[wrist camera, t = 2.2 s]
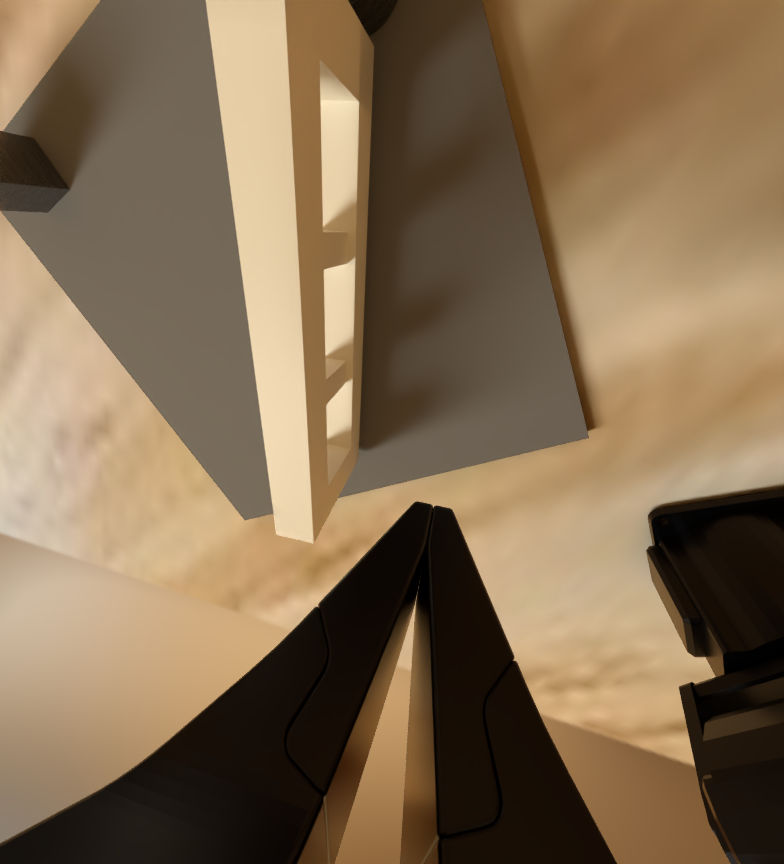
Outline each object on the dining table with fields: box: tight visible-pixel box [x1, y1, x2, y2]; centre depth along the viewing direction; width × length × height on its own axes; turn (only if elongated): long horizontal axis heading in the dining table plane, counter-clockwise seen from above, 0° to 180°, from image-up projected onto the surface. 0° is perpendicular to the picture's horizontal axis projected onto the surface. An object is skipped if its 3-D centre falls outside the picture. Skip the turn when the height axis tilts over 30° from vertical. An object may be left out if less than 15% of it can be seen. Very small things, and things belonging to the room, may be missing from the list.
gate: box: [206, 0, 374, 544], centre depth 12 cm, size 16×2×6 cm, turn 175°
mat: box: [1, 0, 589, 520], centre depth 16 cm, size 22×22×1 cm
